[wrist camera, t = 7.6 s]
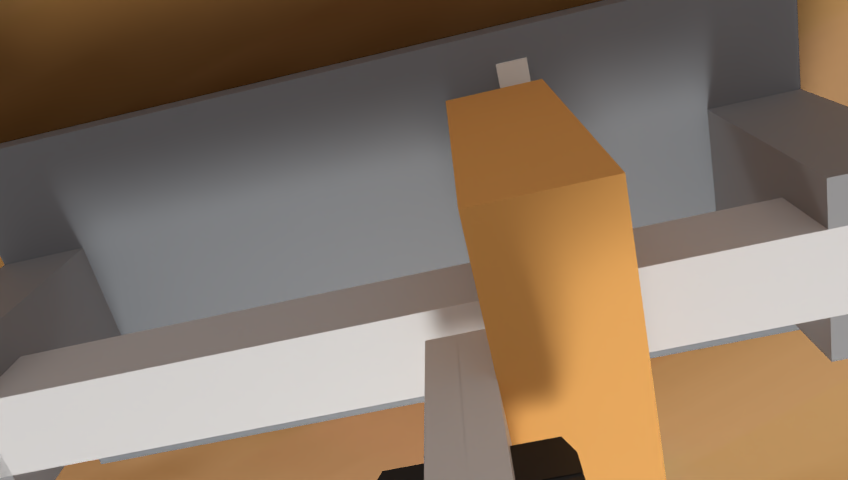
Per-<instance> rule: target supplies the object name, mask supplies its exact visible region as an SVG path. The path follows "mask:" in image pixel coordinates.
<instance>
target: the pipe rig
mask: <svg viewBox="0 0 848 480" xmlns="http://www.w3.org/2000/svg"><path fill="white" fill-rule="evenodd" d="M539 79H543V80H544V81H545V83H546V84H547V85H548V86H549V87H550V88H551V89H552V90H553V92H554V93H555V94H556V95H557V96H558V97H559V98H560V100H561V101H562V102H563V103H564V104H565V105H566V106H567V107H568V109H569V110H570V111H571V112H572V113H573V114H574V115H575V117H576V118H577V119H578V120H579V121H580V122H581V123H582V124H583V126H584V127H585V128H586V129H587V130H588V131H589V132H590V134H591V135H592V136H593V137H594V138H595V139H596V140H597V141H598V143H599V144H600V145H601V146H602V147H603V148H604V149H605V151H606V152H607V153H608V154H609V155H610V156H611V157H612V158H613V160H614V161H615V162H616V163H617V164H618V165H619V166H620V168H621V169H622V170H623V171H624V172H625V175H626V182H627V190H628V197H629V205H630V212H631V220H632V227H633V235H634V242H635V250H636V257H637V265H638V272H639V280H640V287H641V295H642V302H643V310H644V317H645V325H646V332H647V340H648V347H649V355H650V358H655V357H660V356H665V355H670V354H675V353H681V352H686V351H691V350H696V349H701V348H707V347H712V346H717V345H722V344H727V343H733V342H738V341H743V340H748V339H753V338H759V337H764V336H769V335H774V334H779V333H785V332H790V331H795V330H801V331H802V332H803V333H804V334H805V335H806V336H807V337H808V338H809V339H810V340H811V341H812V342H813V343H814V344H815V345H816V346H817V347H818V348H819V349H820V350H821V351H822V352H823V353H824V354H825V355H826V356H827V357H828V358H829V359H830V360H831V361H838V360H843V359H848V107H847V106H844V105H842V104H839V103H836V102H834V101H831V100H828V99H826V98H823V97H820V96H818V95H815V94H812V93H810V92H807V91H804V90H802V89H800V65H799V39H798V13H797V0H603V1H598V2H594V3H590V4H586V5H582V6H577V7H573V8H569V9H565V10H560V11H556V12H552V13H548V14H544V15H539V16H535V17H531V18H527V19H523V20H518V21H514V22H510V23H506V24H502V25H497V26H493V27H489V28H485V29H480V30H476V31H472V32H468V33H464V34H459V35H455V36H451V37H447V38H443V39H438V40H434V41H430V42H426V43H421V44H417V45H413V46H409V47H405V48H400V49H396V50H392V51H388V52H384V53H379V54H375V55H371V56H367V57H362V58H358V59H354V60H350V61H346V62H341V63H337V64H333V65H329V66H325V67H320V68H316V69H312V70H308V71H303V72H299V73H295V74H291V75H287V76H282V77H278V78H274V79H270V80H266V81H261V82H257V83H253V84H249V85H244V86H240V87H236V88H232V89H228V90H223V91H219V92H215V93H211V94H207V95H202V96H198V97H194V98H190V99H185V100H181V101H177V102H173V103H169V104H164V105H160V106H156V107H152V108H148V109H143V110H139V111H135V112H131V113H127V114H122V115H118V116H114V117H110V118H105V119H101V120H97V121H93V122H89V123H84V124H80V125H76V126H72V127H68V128H63V129H59V130H55V131H51V132H46V133H42V134H38V135H34V136H30V137H25V138H21V139H17V140H13V141H9V142H4V143H0V256H1V258H2V260H3V262H4V264H5V265H4V266H3V267H2V268H0V480H55V479H56V477H57V476H58V475H59V473H60V472H61V470H62V469H63V468H64V466H65V465H70V464H75V463H80V462H85V461H90V460H96V459H99V460H100V462H101V464H104V463H109V462H115V461H120V460H125V459H130V458H135V457H141V456H146V455H151V454H156V453H161V452H166V451H172V450H177V449H182V448H187V447H192V446H198V445H203V444H208V443H213V442H218V441H224V440H229V439H234V438H239V437H244V436H250V435H255V434H260V433H265V432H270V431H276V430H281V429H286V428H291V427H296V426H302V425H307V424H312V423H317V422H322V421H327V420H333V419H338V418H343V417H348V416H353V415H359V414H364V413H369V412H374V411H379V410H385V409H390V408H395V407H400V406H405V405H411V404H416V403H421V402H425V341H426V340H431V339H436V338H441V337H446V336H451V335H456V334H461V333H466V332H471V331H476V330H481V329H485V326H484V321H483V317H482V312H481V308H480V304H479V299H478V295H477V290H476V286H475V281H474V277H473V273H472V268H471V264H470V259H469V255H468V250H467V246H466V242H465V237H464V233H463V228H462V224H461V220H460V215H459V211H458V204H457V195H456V186H455V178H454V169H453V161H452V152H451V143H450V135H449V126H448V118H447V109H446V101H447V100H452V99H456V98H461V97H465V96H469V95H474V94H478V93H482V92H487V91H491V90H495V89H500V88H504V87H508V86H513V85H517V84H522V83H526V82H530V81H535V80H539Z"/></svg>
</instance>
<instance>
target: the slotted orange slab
mask: <svg viewBox="0 0 848 480" xmlns="http://www.w3.org/2000/svg"><path fill="white" fill-rule="evenodd" d="M446 109H447V118H448V126H449V135H450V143H451V152H452V161H453V169H454V178H455V186H456V195H457V204H458V211H459V215H460V220H461V224H462V228H463V233H464V237H465V242H466V246H467V250H468V255H469V259H470V264H471V268H472V273H473V277H474V281H475V286H476V290H477V295H478V299H479V304H480V308H481V312H482V317H483V321H484V326H485V330H486V334H487V339H488V343H489V348H490V352H491V357H492V361H493V365H494V370H495V374H496V379H497V381H498V385H499V390H500V394H501V399H502V403H503V407H504V412H505V416H506V421H507V425H508V430H509V434H510V438H511V443H512V445H517V444H523V443H528V442H534V441H539V440H544V439H550V438H555V437H562V438H563V439H564V440H565V441H566V442H568V443H569V444H570V445H571V446H572V447H573V448H574V449H575V450H576V451H577V453H578V456H579V460H580V463H581V466H582V470H583V473H584V476H585V480H666V474H665V467H664V459H663V452H662V444H661V437H660V429H659V422H658V414H657V407H656V399H655V392H654V384H653V377H652V370H651V362H650V355H649V347H648V340H647V332H646V325H645V317H644V310H643V302H642V295H641V287H640V280H639V272H638V265H637V257H636V250H635V242H634V235H633V227H632V220H631V212H630V205H629V197H628V190H627V182H626V175H625V172H624V171H623V170H622V169H621V168H620V166H619V165H618V164H617V163H616V162H615V161H614V160H613V158H612V157H611V156H610V155H609V154H608V153H607V152H606V151H605V149H604V148H603V147H602V146H601V145H600V144H599V143H598V141H597V140H596V139H595V138H594V137H593V136H592V135H591V134H590V132H589V131H588V130H587V129H586V128H585V127H584V126H583V124H582V123H581V122H580V121H579V120H578V119H577V118H576V117H575V115H574V114H573V113H572V112H571V111H570V110H569V109H568V107H567V106H566V105H565V104H564V103H563V102H562V101H561V100H560V98H559V97H558V96H557V95H556V94H555V93H554V92H553V90H552V89H551V88H550V87H549V86H548V85H547V84H546V83H545V81H544V80H543V79H539V80H535V81H530V82H526V83H522V84H517V85H513V86H508V87H504V88H500V89H495V90H491V91H487V92H482V93H478V94H474V95H469V96H465V97H461V98H456V99H452V100H447V101H446Z"/></svg>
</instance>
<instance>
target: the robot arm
mask: <svg viewBox="0 0 848 480" xmlns="http://www.w3.org/2000/svg"><path fill="white" fill-rule="evenodd" d="M378 480H585V476H584V473H583V470H582V466H581V463H580V460H579V456H578V453H577V451H576V450H575V449H574V448H573V447H572V446H571V445H570V444H569V443H568V442H566V441H565V440H564V439H563V438H562V437H555V438H550V439H544V440H539V441H534V442H528V443H523V444H517V445H512V443H511V438H510V434H509V430H508V425H507V421H506V416H505V412H504V407H503V403H502V399H501V394H500V390H499V385H498V381H497V379H496V374H495V370H494V365H493V361H492V357H491V352H490V348H489V343H488V339H487V334H486V330H485V329H481V330H476V331H471V332H466V333H461V334H456V335H451V336H446V337H441V338H436V339H431V340H426V341H425V407H424V464H419V465H414V466H408V467H403V468H397V469H392V470H387V471H382V473H381V475H380V476H379V478H378Z"/></svg>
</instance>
